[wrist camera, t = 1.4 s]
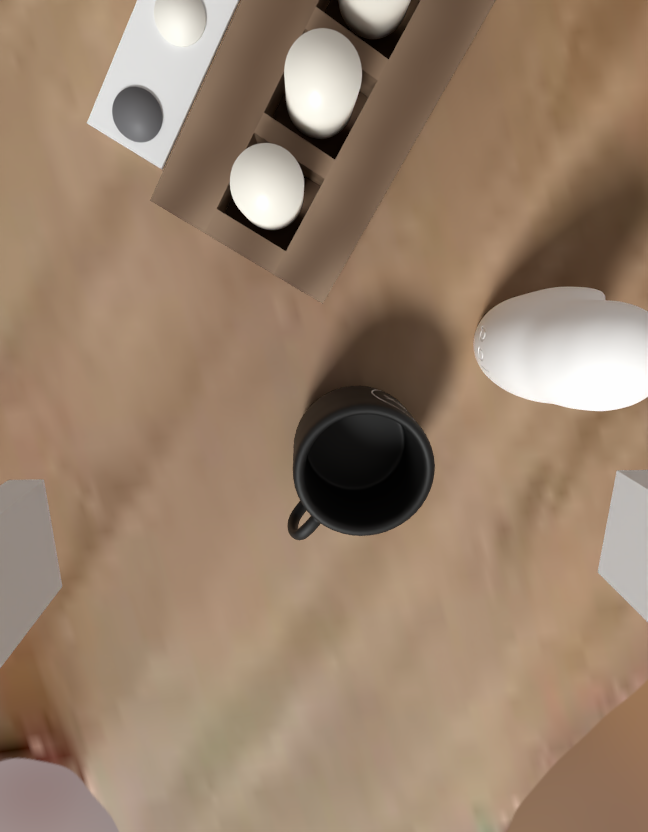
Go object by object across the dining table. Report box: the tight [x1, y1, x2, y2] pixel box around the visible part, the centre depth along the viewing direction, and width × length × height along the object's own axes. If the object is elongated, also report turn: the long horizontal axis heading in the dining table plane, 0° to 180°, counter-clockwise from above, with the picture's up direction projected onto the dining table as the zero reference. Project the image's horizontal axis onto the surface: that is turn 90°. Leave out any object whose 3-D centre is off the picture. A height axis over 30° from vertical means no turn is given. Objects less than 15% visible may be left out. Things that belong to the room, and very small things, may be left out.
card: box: [87, 0, 240, 170], centre depth 29 cm, size 5×16×1 cm, turn 150°
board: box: [150, 0, 496, 304], centre depth 29 cm, size 12×20×3 cm, turn 150°
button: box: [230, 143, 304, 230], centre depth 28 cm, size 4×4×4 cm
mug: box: [288, 386, 435, 540], centre depth 34 cm, size 12×9×7 cm
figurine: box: [473, 287, 648, 411], centre depth 30 cm, size 7×8×12 cm
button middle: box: [284, 28, 362, 139], centre depth 27 cm, size 4×4×4 cm
